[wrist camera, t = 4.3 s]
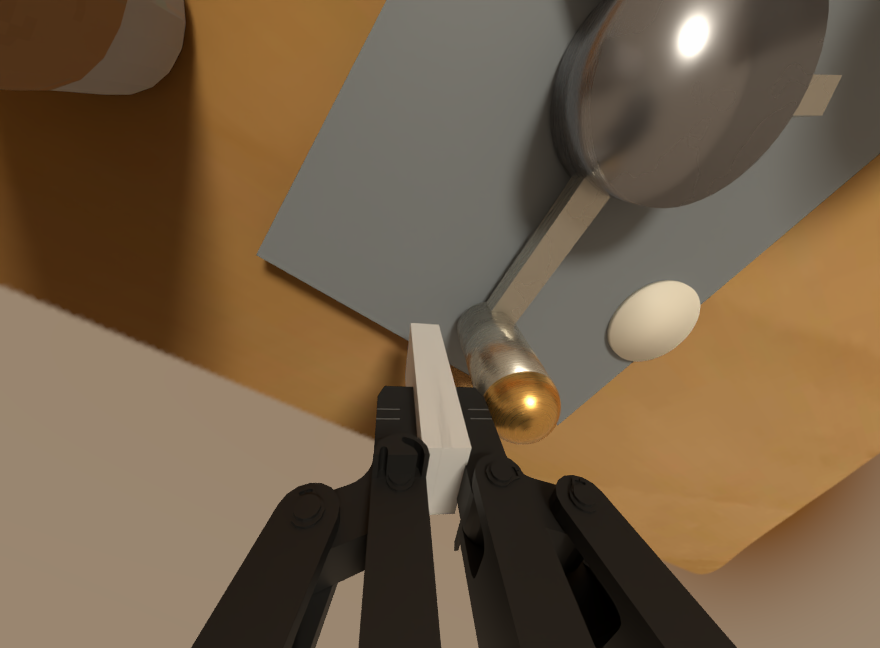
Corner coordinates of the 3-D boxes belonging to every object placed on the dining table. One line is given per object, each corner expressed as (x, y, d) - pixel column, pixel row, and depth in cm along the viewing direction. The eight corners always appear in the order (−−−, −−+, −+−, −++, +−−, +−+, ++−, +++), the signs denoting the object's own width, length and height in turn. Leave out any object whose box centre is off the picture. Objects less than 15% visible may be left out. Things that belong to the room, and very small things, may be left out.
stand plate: (266, 247, 15) (253, 257, 13) (746, -677, 7) (833, -881, 5) (559, 417, 22) (569, 434, 21) (943, 89, 14) (997, 84, 13)
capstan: (599, -178, 9) (1099, -998, 2) (806, 91, 13) (1206, 37, 6) (363, 297, 15) (336, 407, 9) (551, 380, 19) (626, 497, 12)
